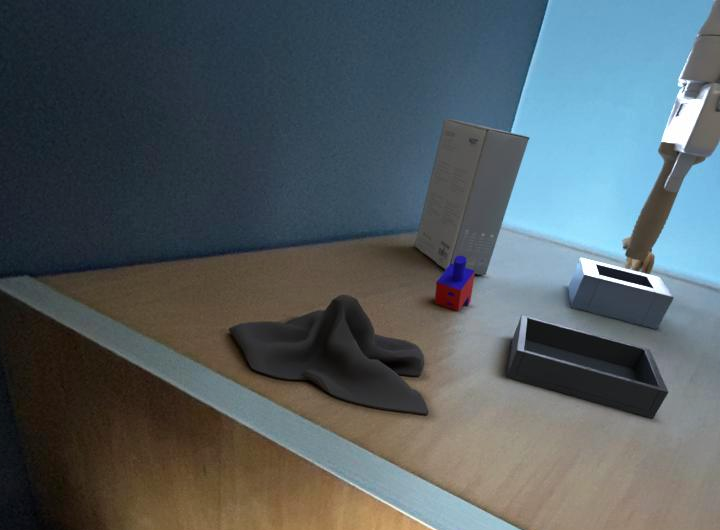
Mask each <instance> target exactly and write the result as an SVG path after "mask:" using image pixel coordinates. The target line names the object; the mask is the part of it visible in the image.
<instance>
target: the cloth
mask: <svg viewBox="0 0 720 530" xmlns="http://www.w3.org/2000/svg"><path fill="white" fill-rule="evenodd" d="M228 331H229V333H230V334H231V335H232V337H233V338H234V339H235V341H236V343H237V345H238V346H239V347H240V348H241V350H242V352H243V355H244V356H245V359H246V361H247V362H248V364H249V367H250V368H251V369H252V370H255V371H256V372H258V373H260V374H263V375H266V376H268V377H272V378H275V379H279V380H287V381H311V382H313V383H314V384H316V385H317V386H318V387H319V388H321V389H323V391H325V392H327V393H329V394H330V395H331V396H332V397H334V398H336V399H340V400H343V401H345V402H349V403H352V404H356V405H360V406H363V407H369V408H374V409H380V410H387V411H392V412H393V411H395V412H401V413H402V412H403V413H410V414H416V415H417V414H418V415H424V416H427V415H429V411H430V410H429V408H428V406H427V403H426V401H425V400H424V397H423V395H422V394H421V393H420V392H419V391H418V390H416V389H413V388H412V387H411V386H410V385H409V384H408V383H407V382H406V381H405V380H404V378H402V376H408V377H420V376H421V375H422V373H423V370H424V367H425V364H426V363H425V362H426V361H425V356H424V353H423V351H422V349H421V348H420V346H418V345H417V344H416V343H414V342H410V341H408V340H405V339H400V338H394V337H389V336H388V337H387V336H384V335H381V334H376V333H375V329H374V325H373V324H372V322H371V318H370V317H369V316H368V315H367V314H366V312H365V311H364V308H363V307H362V306H361V304H360V302H359V300H358V299H357V298H355V297H354V296H351V295H349V294H339V295H338V296H336V297H334V298H332V300H331V301H330V303H329V304H328V306H327V307H326V308H325V309H318V310H314V311H311V312H308V313H306V314H303V315H300V316H297V317H293V318H291V319H289V320H287V321H285V322H281V321H274V320H273V321H272V320H269V321H267V320H266V321H248V322H242V323H238V324H236V325H233V326H231V327H228Z"/></svg>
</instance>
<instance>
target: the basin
mask: <svg viewBox="0 0 720 530" xmlns="http://www.w3.org/2000/svg"><path fill="white" fill-rule="evenodd" d="M509 352H510V354H509V360H508V366H507V371H506V378H508V379H511V380H515V381H518V382H522V383H525V384H530V385H533V386H535V387H540V388H543V389H547V390H550V391H553V392H557V393H560V394H565V395H568V396H571V397H575V398H579V399H582V400H586V401H588V402H593V403H597V404H599V405H603V406H607V407H610V408H614V409H617V410H621V411H625V412H628V413H632V414H635V415H639V416H642V417H645V418H650V419H654V418H655V417H656V414H657V413H658V411H659V410H660V408H661V407H662V404H663V403H664V401H665V399H666V398H667V396H668V394H669V390H668V388H667V385H666V383H665V381H664V379H663V377H662V374H661V372H660V370H659V368H658V365H657V363H656V360H655V358H654V356H653V354H652V351H651V349H650V348H647V347H643V346H639V345H636V344H632V343H629V342H625V341H621V340H617V339H614V338H609V337H606V336H603V335H598V334H594V333H591V332H587V331H583V330H579V329H575V328H572V327H569V326H565V325H561V324H557V323H554V322H550V321H546V320H542V319H538V318H536V317H532V316H527V315H524V314H521V315H520V318H519V320H518V323H517V326H516V329H515V331H514V334H513V337H512V340H511V346H510V351H509Z"/></svg>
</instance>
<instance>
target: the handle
mask: <svg viewBox="0 0 720 530" xmlns="http://www.w3.org/2000/svg"><path fill="white" fill-rule="evenodd" d="M674 145H675V144H672V143H667V142H662V141H661V142H660V144H659V146H658V148H657V153H658V155H659V156H660V157H661V158H662V160H663V163H662V167H661V169H660V172H659V174H658V176H657V178H656V181H655V182H654V184H653V187H652V188H651V190H650V193H649V194H648V196H647V199H646V201H645V202H644V204H643V206H642V209H641V210H640V212H639V215H638V216H637V219H636V221H635V224H634V225H633V228H632V231H631V235H630V236H631V237H630V236H629V237H630V241H629V244H630V245H629V247H627V250H625V253H624V256H625V257H626V258H627V257H630V258H632V259H634V260H640V261H644V260H645V259H646V258H647V256H648V254H649V253H650V252H649V250H650V249H652V250H653V248H654V246H655V244H656V243H657V241H658V239H659V238H660V235H661V234H662V232H663V230H664V228H665V225H666V223H667V221H668V219H669V217H670V214H671V211H672V209H673V206H674V204H675V201H676V199H677V196H678V194H679V191H680V189H681V187H682V184H683V182H684V179H685V178H684V179H683V181H682V183H681V185H680V187H679V190H678V191H677V192H670V191H666V190H665V189H664V185H665V183H666V180H667V178H668V176H669V175H670V173H671V171H672V169H673V167H674V165H675V163H676V159H677V156H678V154H679V151H675V150H674ZM706 159H707V157H702V156H697V157H696V159H695V162H694V164H693V166H696V165H698V164H701V163H704V161H706Z"/></svg>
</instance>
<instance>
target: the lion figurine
mask: <svg viewBox="0 0 720 530" xmlns="http://www.w3.org/2000/svg"><path fill="white" fill-rule="evenodd" d="M630 237H631V235H630V236H629V237H625V238H623V239H621V246H622V247H621V250H623V251H626V250H627V247H629V245H630V244H629V241H630ZM652 251H653V248H652V249H650V250H649V252H650V253H649V254H648V256H647V258H646V259H645V260H644V261H640V260H634V259H632V258H630V257H626V260H625V261H626V262H625V265H624V267H623V268H625V269H629V270H633V271H637V272H641V273H645V274H649V275H651V272H652V271H653V268H654V265H655V259H656V258H655V257H656V256H655V254H654V253H652Z"/></svg>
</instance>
